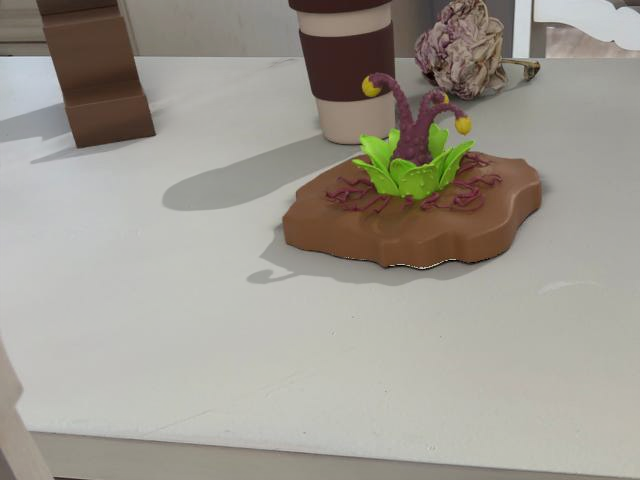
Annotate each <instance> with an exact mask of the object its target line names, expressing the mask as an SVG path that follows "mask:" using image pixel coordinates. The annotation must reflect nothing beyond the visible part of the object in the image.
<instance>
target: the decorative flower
mask: <svg viewBox="0 0 640 480" xmlns="http://www.w3.org/2000/svg"><path fill="white" fill-rule="evenodd" d="M436 18H437V22H435V24H434V26H433V27H431V28H429V29H428V31H424V32H422V33H421V35H420V36H419V37H418V38H416V41H415V43H414V49H413V53H414V54H413V56H414V62H415V65H417V66H418V67H419V69H420V70H421V72H420V75H421V76H422V77H423V79H424V80H425V81H427V82H428V83H429V84H430V85H431V87H433V88H439V90H440V91H443V93H445V94H446V93H448V92H449V93H450V94H452V95H454V94H455V95H458V97H460V99H464V100H465V101H470V100H473V99H474V98H478V97H480V96H482V94H483V92H484V91H485V89H489V88H492V89H493V90H494V92H495V93H499V92H500V91H502V89H503V88H505V86H506V85H507V84H508V83H509V80H508V75H507V73H506V71H505V68H504V66H503V64H513V65H519V66H523V67H524V68H523V77H524V78H525V79H526V80H527V82H528V81H531V79H534V78H535V76H536V75H537V74H538V73H539V71H540V70H541V64H540V62H539V61H538V60H537V59H536V61H535V62H531V61H525V60H517V59H516V60H515V59H506V58H503V57H502V55H501V52H502V48H503V41H504V31H505V25H504V24H503V23H502V22H501V20H500V19H499V18H496V17H492V16H489V12H488V7H487V4H486V3H485V2H484V1H483V0H452V1H451V2H449V4H448V5H446V6H443V8H442V9H441V12H438V14H436Z"/></svg>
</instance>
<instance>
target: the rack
mask: <svg viewBox="0 0 640 480" xmlns="http://www.w3.org/2000/svg"><path fill="white" fill-rule="evenodd" d="M35 3H36V5H37V9H38V12H39V16H40V22H41V29H42V31H43V36H44V38H45V41H46V42H45V43H46V45H47V48H48V51H49V55H50V58H51V61H52V64H53V68H54V70H55V74H56V78H57V81H58V84H59V87H60V91H61V96H62V101H63V106H64V108H63V109H64V112H65V114H66V118H67V120H68V124H69V127H70V130H71V134H72V137H73V140H74V143H75V146H76V149H83V148H89V147H93V146H94V147H95V146H99V145H106V144H112V143H118V142H124V141H129V140H137V139H142V138H147V137H148V138H149V137H153V136H156V135H157V133H156V129H155V125H154V121H153V116H152V113H151V109H150V104H149V101H148V97H147V94H146V92H145V90H144V86H143V84H142V82H141V79H140V76H139V71H138V68H137V64H136V60H135V57H134V56H135V55H134V52H133V49H132V44H131V41H130V37H129V32H128V29H127V25H126V21H125V17H124V14H123V12H122V9H121V8H120V6H119V2H118V0H35Z"/></svg>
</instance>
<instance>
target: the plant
mask: <svg viewBox="0 0 640 480" xmlns="http://www.w3.org/2000/svg"><path fill="white" fill-rule="evenodd" d="M383 83H387V84H388V86H389V88H390V89H392V91H393V96H394V99H395V101H396V103H395V105H396V106H395V107H397V110H398V113H397V118H398V120H399V124H398V129H397V128H395V129H391V131H390V133H389V136H388V142H386V141H385V140H384V139H379V138H377V137H373V136H366V135H363V134H362V135H361V136H360V142H361V143H362V144H361V145H360V146H359V148H360V149H361V151H362V152H363V154H359V155H356V156H353V157H350V158H349V159H346V160H345V161H343V162H341V163H339V164H337V165H335V166H333V167H331V168H329V169H327V170H325V171H324V172H322V173H320V174H318V175H316V177H314V178H313V179H311V180H309V181H308V182H306V183H305V184H304V185H302V186H300V187H299V188H297V189H296V191H295V201H294V202H293V203H292V204H291V205H290V207H289V208H288V210H287V211H286V212H285V213H284V215H283V216H281V222H282V229H283V235H284V242H285V244H286V243H287V244H286V245H290V246H293V247H295V248H297V249H299V248H300V250H303V249H304V250H303V251H308V250H313V251H312V252H317V251H322V252H321V253H324V252H326V253H325V254H327V253H329V254H328V255H330V254H333V255H335V256H339V257H338V258H340V257H347V258H348V257H349V258H354V259H364V260H365V259H366V260H371V261H375V262H377V263H376V264H378V263H379V264H378V265H379V266H381V265H382V266H383V267H382V266H381V267H382V268H385V267H387V266H390V265H397V264H405V265H410V266H413V267H414V266H415V267H418V268H420V267H423V268H424V267H429V266H432V265H434V264H437V263H440V262H442V261H445V260H449V259H456V260H460V261H459V262H461V261H463V262H462V263H464V262H467V263H466V264H469V263H470V262H476V263H478V262H477V261H480V260H483V261H485V260H484V259H487V260H489V259H488V258H490V259H492V258H495V257H497V256H499V255H501V254H503V253H504V252H506V251H507V250H509V248H510V247H511V246H512V244H513V242H514V240H515V238H516V234H517V231H518V228H519V227H520V226H521V224H522V223H523V222H524V221H525V220H526V218H527V217H528V216H529V215H530V214H531V213H533V212H534V211H536V210H538V209H539V208H540V207H541V206H542V202H543V193H542V192H543V191H542V190H543V189H542V188H543V187H542V181H541V180H540V179H539V178H540V177H539V173H538V171H537V169H536V168H534V167H533V166H531V165H530V164H528V162H527V161H526V159H524V158H520V157H519V158H509V157H500V156H495V155H491V154H488V153H484V152H481V151H474V150H473V151H472V150H471V148H472V147H473V146H474V145H476V140H475V139H474V140H468V141H467V140H466V141H464V142H461V143H460V144H458V145H457V146H455V147H453V146H450V147H449V148H448V149H446V145H447V143H448V142H447V141H448V139H449V137H450V131H449V130H448V129H447V128H445V129H442V130H441V129H440V127H439V126H438V125H437V124H436V123H435V119H436V117H437V116H438V115H440V114H442V112H443V113H446V112H447V111H451V112H452V113H454V117H455V119H454V128H455V130H456V132H457V133H458V134H460V135H463V136H464V137H466V136H467V135H468V134H469V133H470V132H471V131H472V127H473V123H472V120H471V118H470V117H469V115H468V114H467V113H466V112H465V111H464V110H463V109H461V108H460V107H457V105H456V104H452V103H451V102H450V99H449V96H448V95H447V94H446V93H443V91H440V89H434V88H433V89H432V90H429V91H428V92H427V93H426V94H425V95H424V96H422V100H421V101H420V103H419V106H420V107H419V108H418V114H417V119H416V120H414V117H413V112H412V111H411V109H410V108H411V106H410V103H409V102H408V97H407V95H406V94H405V92H404V90H402V88H401V85H400V84H398V80H395V79H393V78H392V77H390V76H389V75H387V74H383V73H378V72H377V73H375V74H370V75H369V76H368V77H366V78H365V79H364V81H363V83H362V89H363V92H364V93H365V95H366V96H369V97H374V96H376V95H377V94H378V93H379V92H380V91H381V88H382V84H383ZM431 102H432V106H431V108H430V107H429V106H430V104H431ZM314 250H315V251H314ZM502 252H503V253H502ZM498 254H499V255H498ZM333 255H332V256H333ZM335 256H334V257H335ZM494 256H495V257H494ZM371 261H370V262H371ZM375 262H374V263H375ZM480 262H481V261H480ZM470 264H471V263H470ZM387 268H388V267H387Z"/></svg>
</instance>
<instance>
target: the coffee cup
mask: <svg viewBox="0 0 640 480" xmlns="http://www.w3.org/2000/svg"><path fill="white" fill-rule="evenodd" d="M392 1H393V0H287V2H288V3H287V4H288V7H289V8H290V9H291V10H292V11H295V12H296V17H297V20H298V24H299V25H298V26H299V29H298V37H299V41H300V45H301V49H302V54H303V59H304V64H305V68H306V72H307V77H308V82H309V87H310V90H311V94H312V95H313V97H314V98H315V99H314V100H315V104H316V108H317V113H318V117H319V122H320V127H321V131H322V135H323V136H324V138H325V139H326V140H327V141H328V142H329V141H330V142H332V143H335V144H340V145H363V144H362V143H361V142H360V136H361V135H362V134H363V135H366V136H373V137H377V138H379V139H381V140H384V139H386V138H389V133H390V131H391V129H396V109H395V107H396V106H395V97H394V96H393V91H392V89H390V88H389V86H388V84H387V83H383V84H382V88H381V91H380V92H379V93H378V94H377V95H376V96H374V97H369V96H366V95H365V93H364V92H363V89H362V83H363V81H364V79H365V78H366V77H368V76H369V75H370V74H375V73H377V72H378V73H383V74H387V75H389V76H390V77H392V78H393V79H395V80H396V61H395V60H396V58H395V57H396V55H395V54H396V53H395V33H394V22H393V19H392V17H391V3H392ZM396 81H397V80H396Z"/></svg>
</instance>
